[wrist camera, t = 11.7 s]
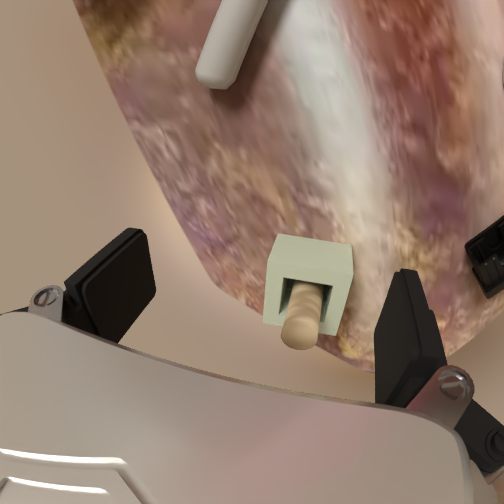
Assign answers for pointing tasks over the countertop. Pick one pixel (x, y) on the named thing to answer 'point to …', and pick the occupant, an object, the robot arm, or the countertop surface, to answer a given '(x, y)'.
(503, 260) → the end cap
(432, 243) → the countertop surface
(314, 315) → the peg
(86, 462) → the robot arm
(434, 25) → the countertop surface
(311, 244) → the socket block
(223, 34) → the tube
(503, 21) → the countertop surface
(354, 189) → the countertop surface
